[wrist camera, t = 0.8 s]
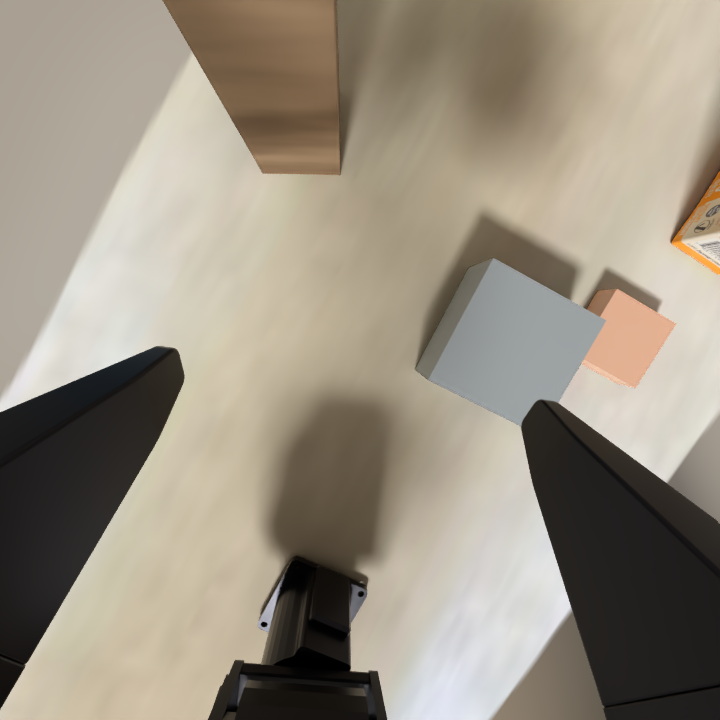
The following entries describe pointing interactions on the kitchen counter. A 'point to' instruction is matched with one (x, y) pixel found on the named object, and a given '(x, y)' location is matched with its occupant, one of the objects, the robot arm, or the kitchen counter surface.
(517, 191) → the kitchen counter surface
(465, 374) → the pedestal
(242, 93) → the walnut block
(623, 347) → the terracotta tile
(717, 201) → the supplement box
